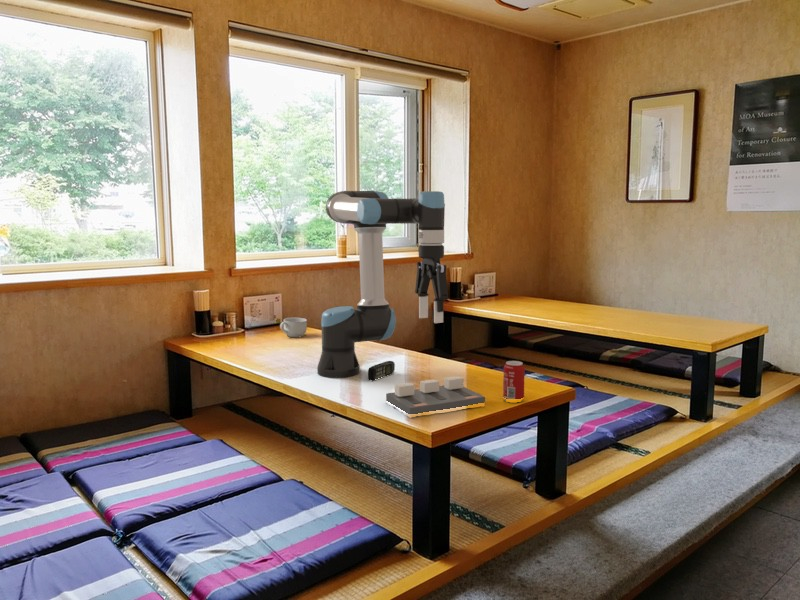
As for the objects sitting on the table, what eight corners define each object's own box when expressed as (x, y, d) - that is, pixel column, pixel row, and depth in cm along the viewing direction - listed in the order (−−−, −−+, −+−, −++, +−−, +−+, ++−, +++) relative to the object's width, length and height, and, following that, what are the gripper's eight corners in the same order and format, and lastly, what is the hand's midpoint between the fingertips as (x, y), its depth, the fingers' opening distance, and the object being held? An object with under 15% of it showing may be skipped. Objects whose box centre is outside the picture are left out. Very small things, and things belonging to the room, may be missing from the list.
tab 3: (444, 387, 201) (444, 377, 200) (458, 385, 203) (458, 376, 202) (449, 389, 198) (449, 380, 198) (463, 387, 200) (463, 378, 200)
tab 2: (420, 390, 197) (420, 381, 197) (434, 388, 199) (434, 379, 199) (424, 393, 194) (424, 383, 194) (439, 391, 197) (439, 381, 196)
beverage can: (527, 400, 198) (528, 362, 197) (516, 405, 194) (517, 366, 192) (510, 396, 202) (511, 359, 201) (498, 401, 198) (499, 362, 196)
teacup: (299, 333, 306) (299, 316, 305) (311, 336, 298) (311, 319, 297) (273, 336, 297) (272, 319, 296) (285, 340, 289) (284, 322, 288)
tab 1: (394, 394, 193) (394, 384, 193) (409, 392, 196) (409, 382, 195) (399, 396, 191) (399, 386, 190) (414, 394, 193) (414, 384, 192)
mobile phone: (373, 368, 219) (398, 359, 232) (366, 367, 221) (391, 357, 233) (373, 382, 220) (398, 372, 233) (366, 381, 222) (391, 371, 234)
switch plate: (386, 403, 196) (386, 393, 195) (457, 392, 207) (457, 383, 206) (409, 418, 182) (409, 407, 181) (484, 406, 192) (485, 396, 192)
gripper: (403, 242, 198) (403, 315, 201) (437, 246, 179) (437, 327, 182) (425, 242, 201) (425, 314, 204) (461, 246, 182) (460, 324, 185)
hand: (430, 320), depth 193 cm, fingers open, 9 cm apart
